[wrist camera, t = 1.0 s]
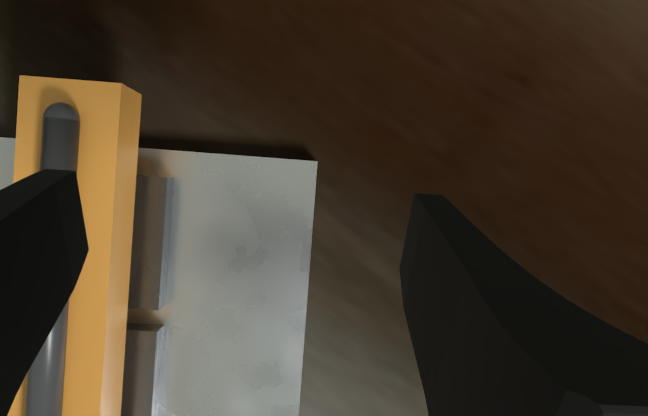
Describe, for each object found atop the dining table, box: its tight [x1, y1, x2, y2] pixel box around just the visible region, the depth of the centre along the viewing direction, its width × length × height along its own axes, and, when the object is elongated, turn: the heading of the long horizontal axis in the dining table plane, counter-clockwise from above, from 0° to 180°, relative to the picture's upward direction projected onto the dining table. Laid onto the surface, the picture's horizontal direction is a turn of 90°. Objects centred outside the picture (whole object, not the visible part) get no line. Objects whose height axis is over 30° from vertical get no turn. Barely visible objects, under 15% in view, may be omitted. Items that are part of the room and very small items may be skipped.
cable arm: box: [7, 75, 142, 416], centre depth 21 cm, size 20×4×4 cm, turn 176°
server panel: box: [0, 137, 317, 416], centre depth 25 cm, size 18×18×3 cm
